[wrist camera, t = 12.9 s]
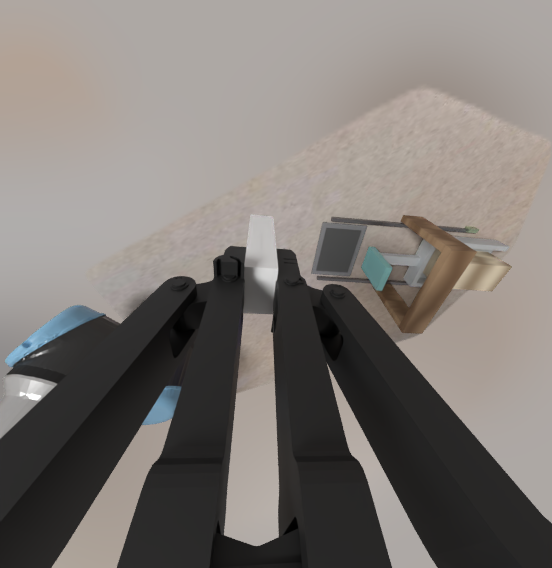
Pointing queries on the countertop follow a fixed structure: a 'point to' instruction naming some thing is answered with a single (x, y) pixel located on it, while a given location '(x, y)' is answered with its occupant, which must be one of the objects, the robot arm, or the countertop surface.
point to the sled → (415, 261)
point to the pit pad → (337, 248)
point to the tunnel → (428, 278)
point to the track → (396, 224)
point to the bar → (477, 271)
